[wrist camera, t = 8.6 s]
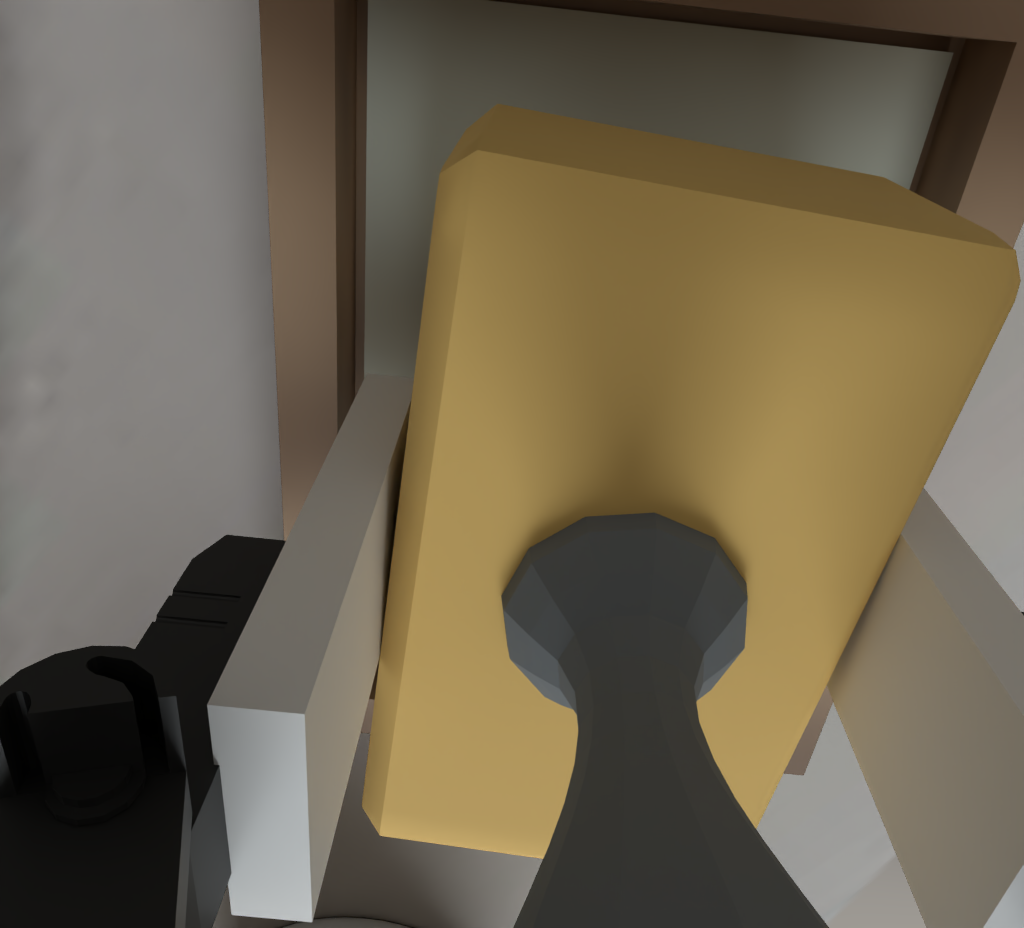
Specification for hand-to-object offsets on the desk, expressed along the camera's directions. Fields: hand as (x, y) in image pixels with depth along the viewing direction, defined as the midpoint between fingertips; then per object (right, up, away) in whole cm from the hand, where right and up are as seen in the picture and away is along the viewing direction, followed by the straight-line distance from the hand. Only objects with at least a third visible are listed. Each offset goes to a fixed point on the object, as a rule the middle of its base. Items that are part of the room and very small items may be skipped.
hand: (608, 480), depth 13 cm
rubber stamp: (0, 0, +1) cm, 1 cm away
